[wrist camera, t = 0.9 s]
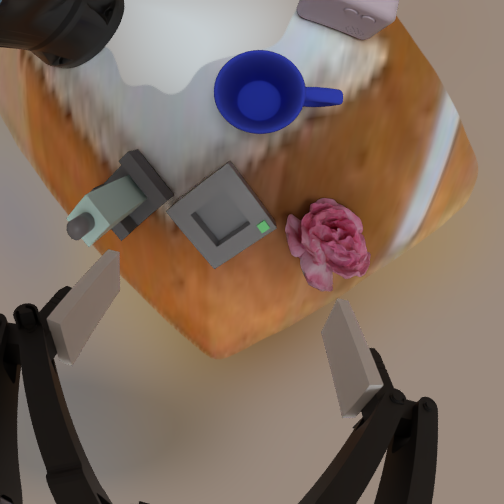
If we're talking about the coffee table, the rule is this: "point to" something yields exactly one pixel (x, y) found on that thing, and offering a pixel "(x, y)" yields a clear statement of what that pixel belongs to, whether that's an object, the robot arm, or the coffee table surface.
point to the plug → (104, 209)
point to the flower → (328, 243)
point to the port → (222, 216)
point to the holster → (147, 183)
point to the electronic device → (350, 15)
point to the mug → (266, 92)
